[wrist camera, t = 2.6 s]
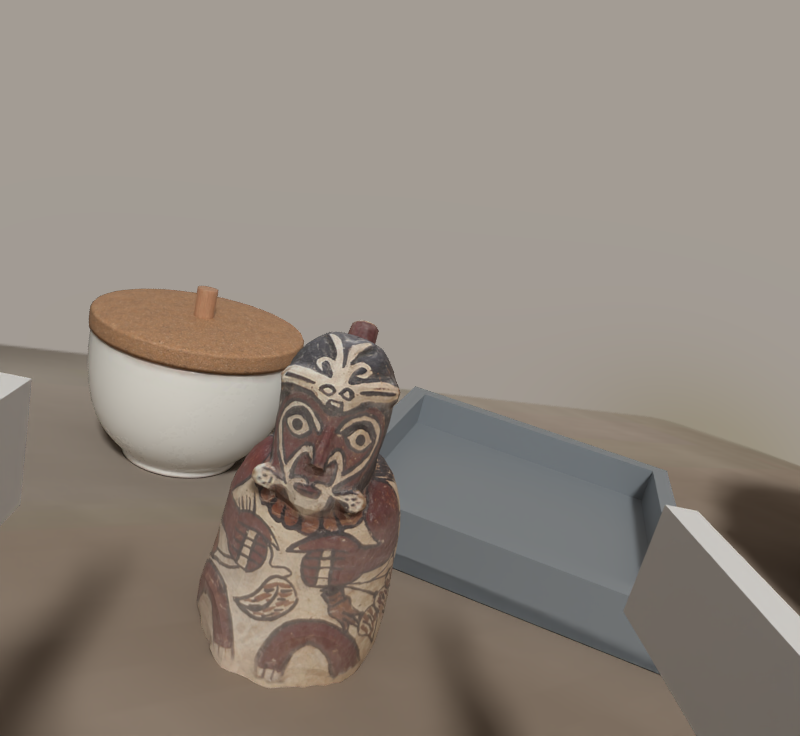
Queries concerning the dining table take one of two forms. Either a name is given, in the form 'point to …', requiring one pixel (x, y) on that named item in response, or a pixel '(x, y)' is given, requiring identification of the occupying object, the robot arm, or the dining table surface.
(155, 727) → the dining table surface
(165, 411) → the lidded jar
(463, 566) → the tray
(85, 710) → the dining table surface
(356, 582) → the figurine
